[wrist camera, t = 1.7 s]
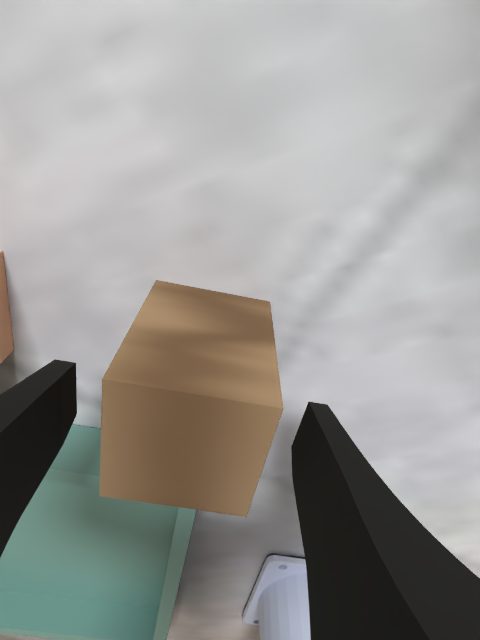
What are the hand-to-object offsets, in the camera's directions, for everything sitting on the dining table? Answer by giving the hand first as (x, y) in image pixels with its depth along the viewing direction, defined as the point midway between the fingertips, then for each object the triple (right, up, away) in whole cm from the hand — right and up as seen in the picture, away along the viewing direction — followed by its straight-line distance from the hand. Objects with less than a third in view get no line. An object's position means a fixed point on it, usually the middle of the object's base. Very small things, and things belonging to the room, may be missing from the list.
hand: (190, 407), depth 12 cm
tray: (-10, -9, +10) cm, 16 cm away
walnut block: (0, +2, +4) cm, 4 cm away
